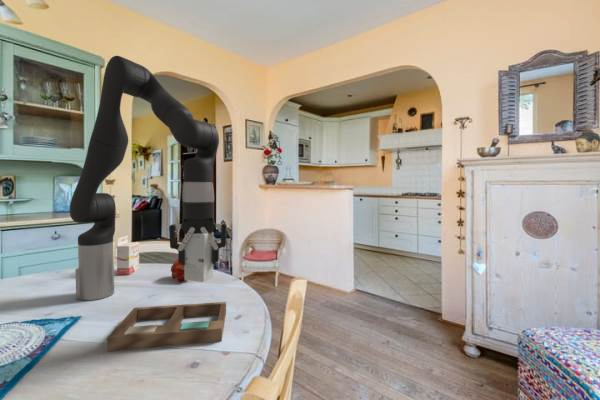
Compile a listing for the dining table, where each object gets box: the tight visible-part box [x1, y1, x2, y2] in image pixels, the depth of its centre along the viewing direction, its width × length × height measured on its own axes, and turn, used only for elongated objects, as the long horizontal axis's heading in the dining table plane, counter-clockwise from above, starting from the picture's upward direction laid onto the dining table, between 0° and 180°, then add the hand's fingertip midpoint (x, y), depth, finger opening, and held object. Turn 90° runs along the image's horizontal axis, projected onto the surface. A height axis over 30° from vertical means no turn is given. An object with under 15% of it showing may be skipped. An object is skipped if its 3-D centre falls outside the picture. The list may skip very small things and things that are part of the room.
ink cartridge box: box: [116, 235, 140, 276], centre depth 116 cm, size 9×5×15 cm, turn 5°
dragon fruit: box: [170, 259, 186, 283], centre depth 108 cm, size 8×8×12 cm
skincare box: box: [184, 231, 215, 283], centre depth 72 cm, size 6×4×12 cm
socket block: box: [106, 301, 227, 352], centre depth 71 cm, size 24×15×3 cm, turn 101°
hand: (199, 263), depth 73 cm, fingers closed on skincare box, 7 cm apart
